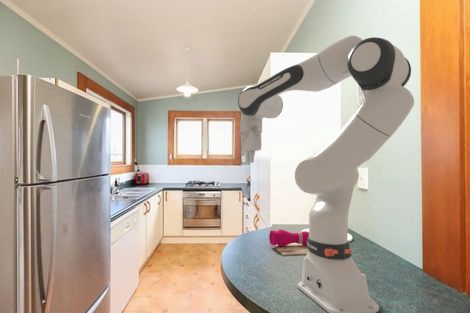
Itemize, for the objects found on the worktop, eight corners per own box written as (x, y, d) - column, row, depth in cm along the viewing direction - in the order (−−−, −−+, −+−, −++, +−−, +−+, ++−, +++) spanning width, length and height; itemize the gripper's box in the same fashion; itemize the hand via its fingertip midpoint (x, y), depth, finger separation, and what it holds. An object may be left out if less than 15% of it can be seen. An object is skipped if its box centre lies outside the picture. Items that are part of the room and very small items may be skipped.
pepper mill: (275, 240, 106) (319, 240, 110) (271, 225, 112) (313, 226, 115) (271, 249, 110) (313, 250, 114) (267, 235, 116) (308, 236, 120)
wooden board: (328, 253, 105) (328, 252, 105) (282, 255, 102) (282, 254, 102) (311, 241, 121) (311, 240, 121) (270, 243, 118) (270, 241, 118)
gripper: (265, 125, 93) (265, 162, 93) (253, 131, 113) (252, 162, 113) (249, 124, 92) (248, 162, 92) (239, 131, 112) (238, 162, 112)
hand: (250, 162), depth 103 cm, fingers closed
